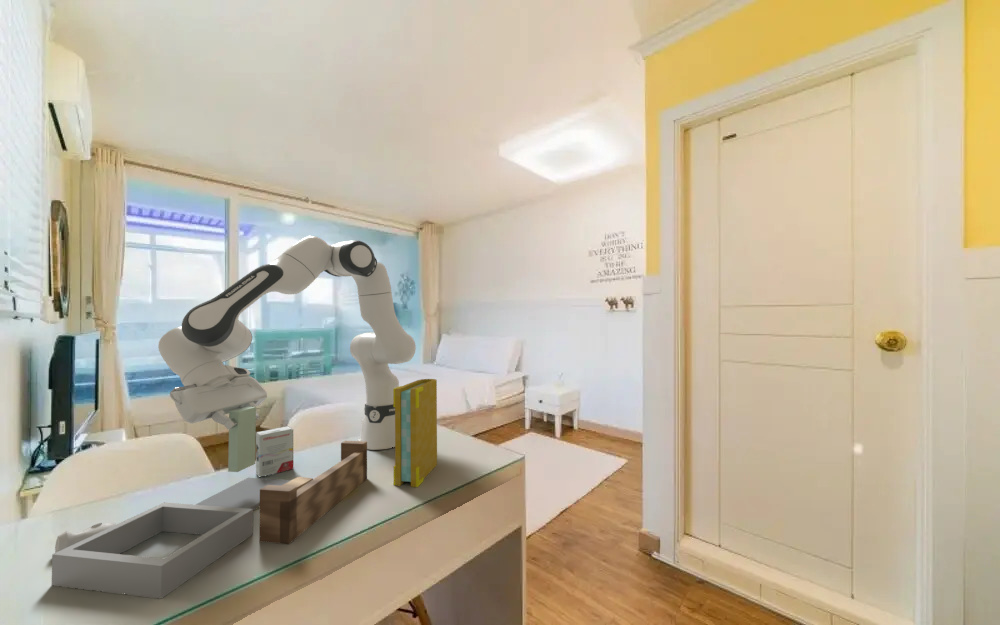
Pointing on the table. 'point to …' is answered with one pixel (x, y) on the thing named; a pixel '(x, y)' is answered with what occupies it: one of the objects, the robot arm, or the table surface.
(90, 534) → the pale two-lobed sculpture
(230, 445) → the pale green block
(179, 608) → the table surface
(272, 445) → the ink box
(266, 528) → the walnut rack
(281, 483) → the slate mat
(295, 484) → the wooden block
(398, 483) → the book
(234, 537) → the grey tray frame
